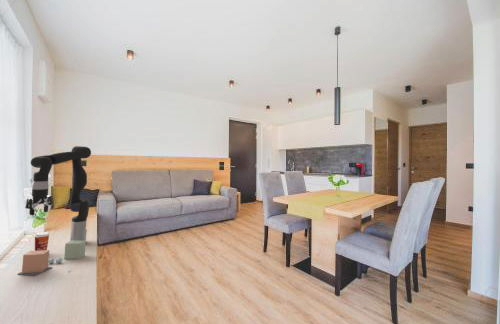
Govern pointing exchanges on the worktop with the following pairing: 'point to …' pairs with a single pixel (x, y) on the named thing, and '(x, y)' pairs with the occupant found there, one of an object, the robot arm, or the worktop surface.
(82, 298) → the worktop surface
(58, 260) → the marble
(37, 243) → the paper cup
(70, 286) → the worktop surface
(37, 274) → the felt coaster
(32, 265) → the salmon orange block
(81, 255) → the sage green block
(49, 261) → the marble
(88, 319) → the worktop surface
